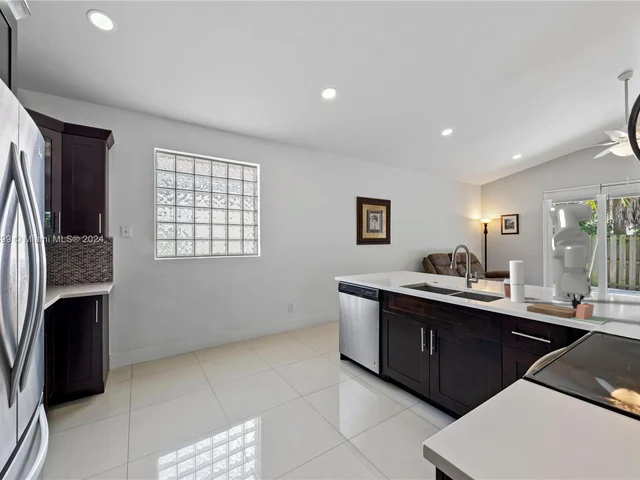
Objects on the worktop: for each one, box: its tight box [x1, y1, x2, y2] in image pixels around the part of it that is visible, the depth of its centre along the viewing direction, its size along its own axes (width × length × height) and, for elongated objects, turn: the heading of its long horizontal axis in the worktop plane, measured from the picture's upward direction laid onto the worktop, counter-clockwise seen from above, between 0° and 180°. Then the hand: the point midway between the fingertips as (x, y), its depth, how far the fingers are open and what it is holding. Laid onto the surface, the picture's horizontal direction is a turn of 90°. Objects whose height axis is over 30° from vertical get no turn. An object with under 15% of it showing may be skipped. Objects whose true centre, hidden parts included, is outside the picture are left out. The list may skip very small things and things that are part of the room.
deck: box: [526, 302, 577, 320], centre depth 147 cm, size 14×18×2 cm
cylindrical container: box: [509, 260, 526, 304], centre depth 175 cm, size 7×7×25 cm
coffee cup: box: [502, 278, 511, 300], centre depth 185 cm, size 9×9×12 cm
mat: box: [569, 314, 615, 325], centre depth 134 cm, size 15×11×1 cm
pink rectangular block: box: [576, 302, 595, 319], centre depth 135 cm, size 9×6×3 cm
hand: (576, 308), depth 138 cm, fingers closed
